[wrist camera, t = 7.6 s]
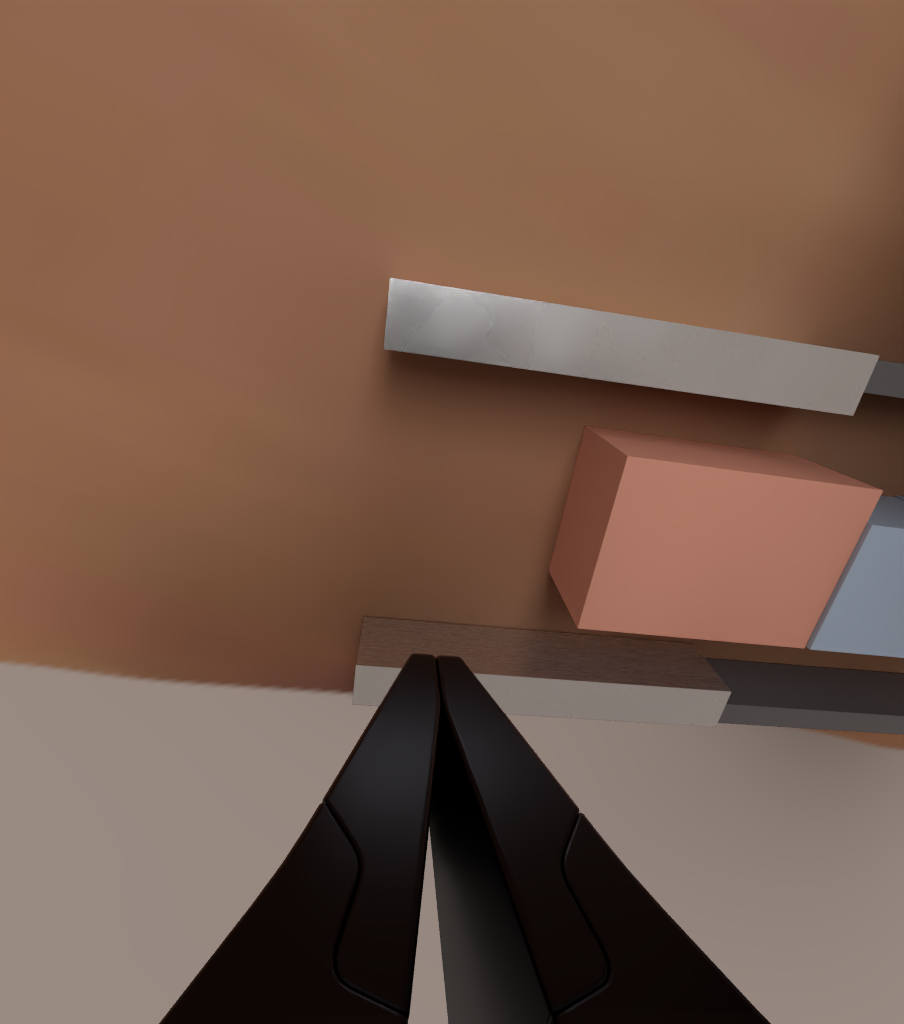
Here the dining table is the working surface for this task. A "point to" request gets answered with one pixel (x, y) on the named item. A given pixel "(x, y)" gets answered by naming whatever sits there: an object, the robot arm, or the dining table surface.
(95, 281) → the dining table surface
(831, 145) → the dining table surface
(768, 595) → the block
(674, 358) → the slot rails
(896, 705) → the chip tray
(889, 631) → the blue cube
